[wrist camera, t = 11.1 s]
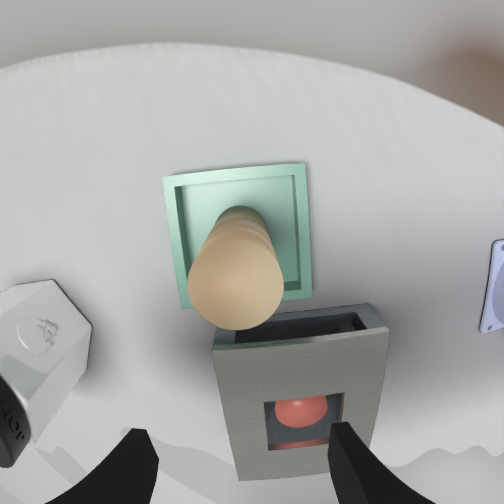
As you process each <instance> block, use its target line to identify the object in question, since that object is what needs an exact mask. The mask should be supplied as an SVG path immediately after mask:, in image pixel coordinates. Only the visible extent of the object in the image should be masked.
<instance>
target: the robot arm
mask: <svg viewBox="0 0 504 504" xmlns="http://www.w3.org/2000/svg"><path fill="white" fill-rule="evenodd" d="M501 247H502V248H501ZM501 328H504V240H500V241H496V242H495V243H494V245H493V250H492V260H491V268H490V275H489V282H488V289H487V295H486V300H485V306H484V311H483V316H482V321H481V325H480V332H481V333H482V334H485V333H489V332H492V331H495V330H498V329H501ZM327 456H328V462H329V468H330V474H331V478H332V481H333V485H334V488H335V491H336V495H337V498H338V501H339V504H435V503H434V502H432V501H430V500H428V499H427V498H425V497H423V496H422V495H420V494H419V493H417V492H416V491H414V490H412V489H411V488H410V487H408V486H407V485H406V484H405V483H403V482H402V481H401V480H400V479H399V478H397V477H396V476H395V475H394V474H393V473H392V472H391V471H390V470H389V469H387V468H386V467H385V466H384V465H383V464H382V463H381V462H380V461H379V460H378V458H377V457H376V456H375V455H374V454H373V453H372V452H371V451H370V450H369V448H368V447H367V446H366V445H365V444H364V442H363V441H362V440H361V439H360V437H359V436H358V435H357V433H356V432H355V431H354V429H353V428H352V426H351V425H350V424H349V422H347V421H345V422H339V423H333V424H331V430H330V438H329V446H328V453H327ZM158 464H159V458H158V456H157V454H156V452H155V450H154V447H153V445H152V443H151V440H150V438H149V435H148V433H147V430H146V429H135V428H132V429H131V430H130V431H129V432H128V434H127V435H126V436H125V437H124V438H123V439H122V440H121V441H120V443H119V444H118V445H117V446H116V447H115V448H114V449H113V450H112V451H111V452H110V454H109V455H108V456H107V457H106V458H105V459H104V460H103V461H102V462H101V463H100V464H99V465H98V466H97V467H96V468H95V469H94V470H92V471H91V472H90V473H89V474H88V475H87V476H86V477H85V478H84V479H82V480H81V481H80V482H79V483H78V484H76V485H75V486H73V487H72V488H71V489H69V490H68V491H66V492H65V493H63V494H61V495H60V496H58V497H56V498H55V499H53V500H51V501H49V502H47V503H45V504H149V503H150V500H151V496H152V493H153V489H154V486H155V482H156V478H157V471H158Z"/></svg>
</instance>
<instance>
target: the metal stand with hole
mask: <svg viewBox="0 0 504 504" xmlns="http://www.w3.org/2000/svg"><path fill="white" fill-rule="evenodd" d="M389 336H390V330H389V329H388V328H387V327H386V325H385V324H384V323H383V321H382V320H381V319H380V318H379V316H378V315H377V314H376V313H375V311H374V310H373V309H372V308H371V306H370V305H369V304H368V303H365V304H358V305H350V306H342V307H334V308H326V309H317V310H308V311H298V312H288V313H278V314H272V315H271V317H270V318H268V319H267V320H266V321H264V322H263V323H261V324H259V325H257V326H255V327H252V328H249V329H244V330H229V329H224V328H220V327H217V328H216V333H215V338H214V343H213V348H212V354H213V360H214V365H215V370H216V376H217V381H218V386H219V391H220V396H221V401H222V406H223V411H224V416H225V421H226V426H227V430H228V435H229V439H230V444H231V448H232V453H233V457H234V461H235V466H236V469H237V474H238V478H239V481H248V480H266V479H279V478H290V477H299V476H307V475H314V474H321V473H328V472H330V468H329V462H328V456H327V453H328V446H329V438H330V430H331V424H333V423H339V422H345V421H347V422H349V424H350V425H351V426H352V428H353V429H354V431H355V432H356V433H357V435H358V436H359V437H360V439H361V440H362V441H363V442H364V444H365V445H366V446H367V447H368V448H369V446H370V442H371V438H372V434H373V430H374V425H375V420H376V416H377V411H378V406H379V401H380V395H381V390H382V384H383V378H384V372H385V366H386V359H387V352H388V344H389ZM322 395H325V397H326V401H327V405H328V407H327V411H326V413H325V415H324V416H323V417H322V418H321V419H320V420H319V421H317V422H316V423H314V424H312V425H309V426H305V427H290V426H286V425H284V424H282V423H281V422H280V421H279V420H278V419H277V417H276V413H275V402H274V401H280V400H290V399H299V398H307V397H315V396H322Z"/></svg>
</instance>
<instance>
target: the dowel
mask: <svg viewBox="0 0 504 504" xmlns="http://www.w3.org/2000/svg"><path fill="white" fill-rule="evenodd" d="M187 288H188V294H189V298H190V300H191V303H192V305H193V306H194V308H195V310H196V311H197V312H198V313H199V315H201V316H202V317H203V318H204V319H205V320H206V321H208V322H209V323H211V324H213V325H215V326H217V327H220V328H224V329H229V330H244V329H249V328H252V327H255V326H257V325H259V324H261V323H263V322H264V321H266V320H267V319H268V318H270V317H271V315H272V314H273V313H274V312H275V311H276V309H277V308H278V306H279V304H280V302H281V299H282V296H283V290H284V281H283V276H282V272H281V269H280V266H279V263H278V260H277V257H276V254H275V251H274V249H273V246H272V243H271V240H270V237H269V234H268V231H267V228H266V225H265V222H264V220H263V218H262V217H261V215H260V214H259V213H258V212H257V211H256V210H254V209H252V208H250V207H247V206H240V205H239V206H233V207H230V208H228V209H226V210H225V211H224V212H222V213H221V215H220V216H219V217H218V219H217V221H216V222H215V224H214V226H213V228H212V230H211V231H210V233H209V235H208V237H207V239H206V240H205V242H204V244H203V246H202V248H201V250H200V251H199V253H198V255H197V257H196V259H195V261H194V262H193V264H192V266H191V269H190V271H189V275H188V281H187Z"/></svg>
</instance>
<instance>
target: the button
mask: <svg viewBox="0 0 504 504" xmlns="http://www.w3.org/2000/svg"><path fill="white" fill-rule="evenodd" d="M274 402H275V413H276V417H277V419H278V420H279V421H280V422H281V423H282V424H284V425H286V426H290V427H305V426H309V425H312V424H314V423H316V422H317V421H319V420H320V419H321V418H322V417H323V416H324V415H325V413H326V411H327V407H328V405H327V401H326V397H325V395H322V396H315V397H307V398H299V399H290V400H280V401H274Z"/></svg>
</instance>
